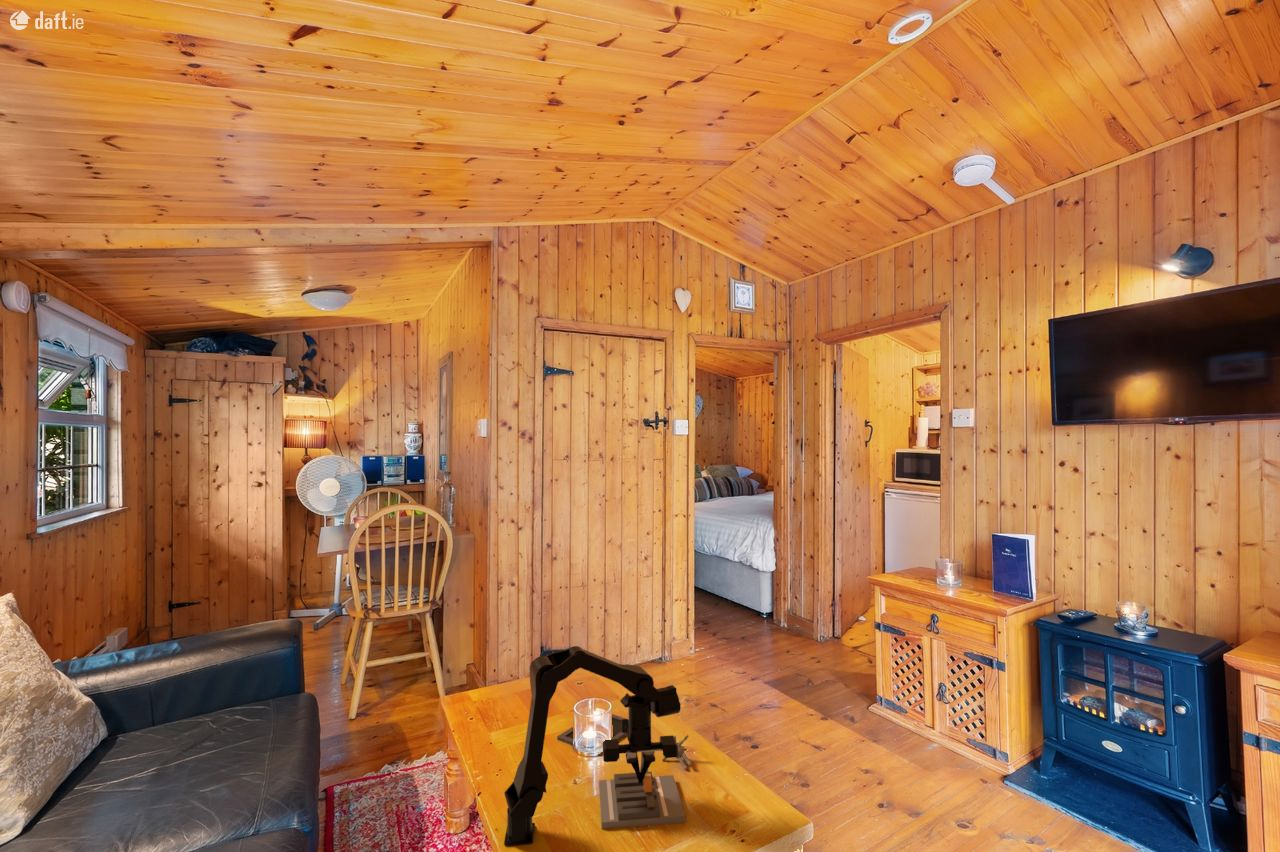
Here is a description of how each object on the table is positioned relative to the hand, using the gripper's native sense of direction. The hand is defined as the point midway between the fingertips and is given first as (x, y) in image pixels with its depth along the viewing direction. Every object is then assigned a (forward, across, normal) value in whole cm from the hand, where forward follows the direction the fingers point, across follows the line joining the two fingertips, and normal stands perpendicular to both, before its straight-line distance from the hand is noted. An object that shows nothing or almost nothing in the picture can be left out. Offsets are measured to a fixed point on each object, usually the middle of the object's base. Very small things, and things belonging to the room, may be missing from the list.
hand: (640, 782), depth 146 cm
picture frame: (+6, +9, -36) cm, 38 cm away
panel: (+5, 0, 0) cm, 5 cm away
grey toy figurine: (+6, -13, -17) cm, 23 cm away
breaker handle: (+2, -2, 0) cm, 3 cm away
